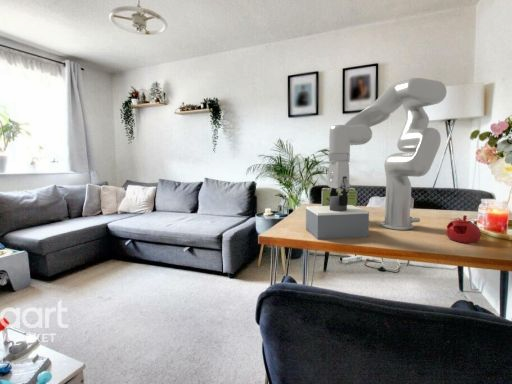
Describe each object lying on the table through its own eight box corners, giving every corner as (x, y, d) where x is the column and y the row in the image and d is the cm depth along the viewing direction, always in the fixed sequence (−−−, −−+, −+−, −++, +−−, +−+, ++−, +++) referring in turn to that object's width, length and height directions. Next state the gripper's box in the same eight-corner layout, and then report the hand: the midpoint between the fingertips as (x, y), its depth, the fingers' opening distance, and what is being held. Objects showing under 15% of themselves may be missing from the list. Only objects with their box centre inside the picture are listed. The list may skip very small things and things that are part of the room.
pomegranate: (464, 236, 100) (466, 212, 99) (488, 244, 90) (490, 217, 89) (438, 236, 100) (440, 212, 99) (459, 245, 90) (461, 218, 89)
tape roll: (342, 207, 107) (342, 195, 107) (349, 211, 101) (350, 198, 100) (327, 208, 107) (327, 196, 106) (333, 211, 100) (333, 198, 100)
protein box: (356, 224, 121) (357, 190, 119) (321, 222, 124) (322, 190, 122) (353, 219, 131) (353, 187, 130) (321, 218, 134) (321, 187, 133)
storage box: (350, 227, 115) (351, 207, 114) (368, 236, 101) (368, 213, 100) (305, 229, 113) (306, 208, 112) (317, 239, 99) (317, 215, 98)
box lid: (351, 206, 114) (351, 204, 114) (368, 213, 100) (369, 211, 100) (306, 208, 112) (306, 206, 111) (317, 215, 98) (317, 213, 98)
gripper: (321, 158, 110) (320, 200, 112) (339, 158, 92) (338, 208, 94) (338, 158, 110) (337, 200, 113) (360, 158, 93) (358, 207, 95)
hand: (338, 203), depth 103 cm, fingers open, 7 cm apart
